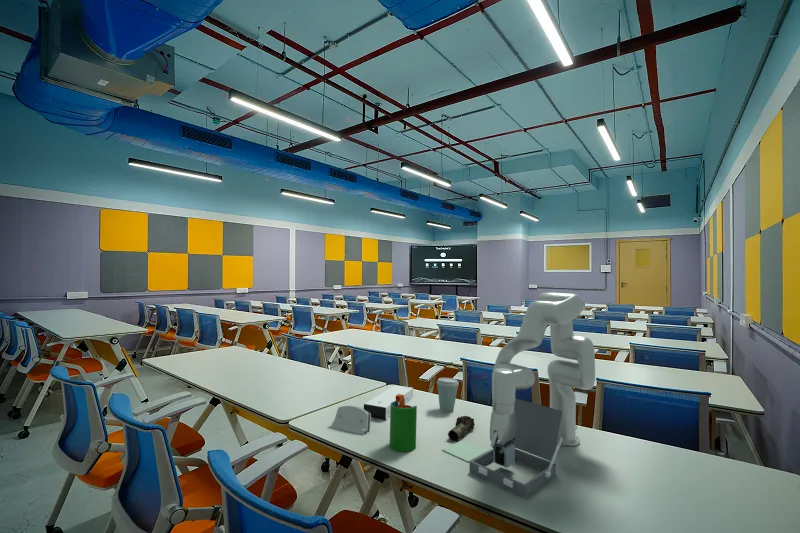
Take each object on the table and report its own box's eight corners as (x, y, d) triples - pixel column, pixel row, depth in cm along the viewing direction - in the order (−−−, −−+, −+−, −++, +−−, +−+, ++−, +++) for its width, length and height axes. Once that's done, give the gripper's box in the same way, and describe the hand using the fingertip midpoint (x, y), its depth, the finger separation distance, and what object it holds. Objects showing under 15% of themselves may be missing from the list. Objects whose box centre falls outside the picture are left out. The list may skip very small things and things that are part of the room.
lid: (503, 443, 137) (504, 443, 137) (553, 462, 123) (554, 462, 124) (512, 397, 141) (513, 397, 142) (562, 411, 128) (563, 411, 128)
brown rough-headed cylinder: (458, 443, 145) (458, 428, 145) (443, 439, 149) (443, 424, 149) (477, 428, 160) (477, 415, 160) (462, 424, 164) (462, 411, 164)
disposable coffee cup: (443, 404, 189) (443, 374, 189) (462, 409, 182) (462, 378, 183) (432, 410, 180) (432, 379, 180) (452, 415, 174) (452, 383, 174)
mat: (461, 441, 147) (461, 440, 147) (487, 451, 138) (487, 450, 138) (442, 450, 138) (442, 449, 138) (468, 462, 130) (468, 461, 130)
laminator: (385, 421, 166) (385, 407, 166) (361, 417, 171) (361, 403, 171) (412, 399, 197) (413, 387, 197) (391, 396, 202) (392, 384, 202)
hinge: (330, 427, 158) (335, 402, 161) (336, 427, 161) (341, 403, 165) (364, 435, 150) (368, 409, 153) (369, 435, 154) (374, 409, 157)
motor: (419, 444, 143) (420, 392, 143) (409, 454, 135) (410, 398, 135) (395, 439, 147) (396, 388, 148) (384, 448, 139) (386, 394, 139)
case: (506, 450, 139) (506, 419, 140) (563, 472, 124) (563, 437, 124) (468, 472, 123) (468, 437, 123) (528, 501, 108) (528, 460, 108)
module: (501, 457, 128) (501, 438, 129) (514, 462, 125) (514, 443, 125) (493, 462, 125) (493, 443, 125) (506, 468, 121) (506, 448, 121)
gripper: (507, 397, 134) (507, 448, 134) (479, 409, 122) (480, 465, 122) (526, 402, 128) (527, 455, 128) (500, 416, 117) (500, 474, 116)
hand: (504, 460), depth 125 cm, fingers closed on module, 5 cm apart
